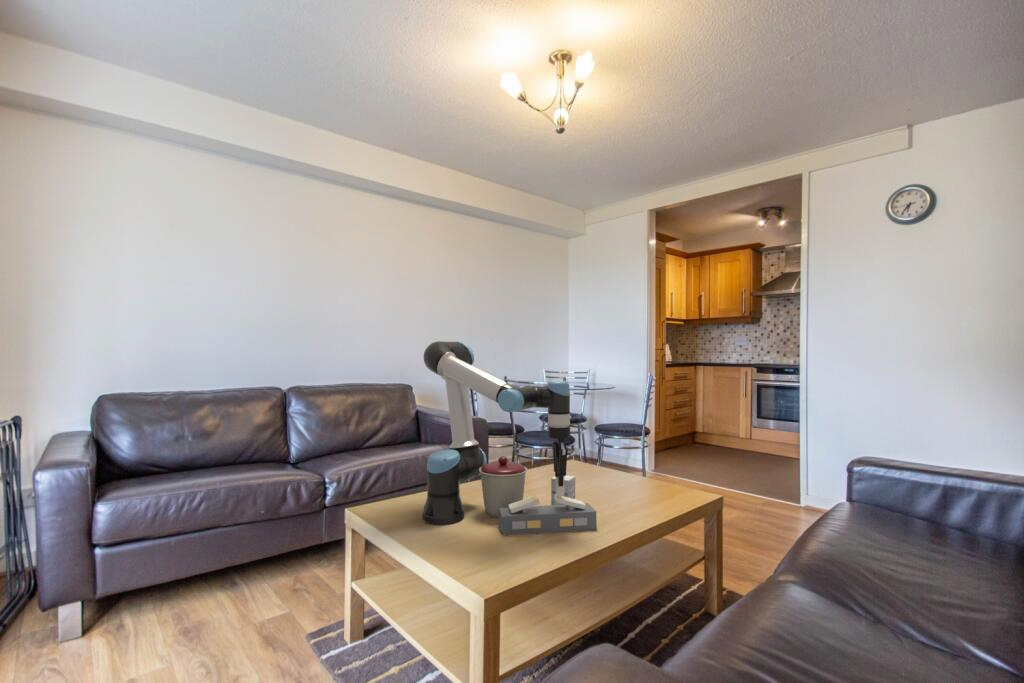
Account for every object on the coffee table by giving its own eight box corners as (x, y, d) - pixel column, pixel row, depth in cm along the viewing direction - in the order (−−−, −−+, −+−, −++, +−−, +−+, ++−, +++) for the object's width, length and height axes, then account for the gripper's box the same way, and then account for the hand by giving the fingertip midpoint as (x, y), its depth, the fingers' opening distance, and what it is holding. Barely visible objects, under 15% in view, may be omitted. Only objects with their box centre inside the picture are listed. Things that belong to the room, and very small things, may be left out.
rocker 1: (511, 513, 158) (510, 508, 158) (509, 508, 163) (508, 504, 163) (539, 503, 159) (538, 499, 159) (536, 499, 164) (535, 494, 164)
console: (502, 535, 155) (502, 512, 155) (499, 525, 164) (499, 503, 164) (596, 529, 159) (596, 507, 160) (588, 520, 168) (588, 499, 169)
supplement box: (550, 511, 178) (550, 477, 178) (558, 506, 184) (557, 473, 185) (569, 514, 174) (568, 480, 175) (576, 508, 181) (575, 475, 181)
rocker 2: (557, 502, 160) (558, 498, 160) (553, 498, 165) (555, 493, 165) (584, 509, 161) (586, 504, 161) (580, 504, 166) (581, 500, 166)
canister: (522, 523, 165) (522, 463, 166) (473, 520, 169) (472, 460, 170) (531, 507, 183) (530, 452, 184) (485, 504, 187) (485, 450, 187)
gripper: (575, 428, 157) (575, 500, 157) (565, 422, 170) (565, 489, 170) (553, 429, 156) (553, 501, 156) (544, 423, 169) (545, 490, 169)
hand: (560, 494), depth 163 cm, fingers closed
